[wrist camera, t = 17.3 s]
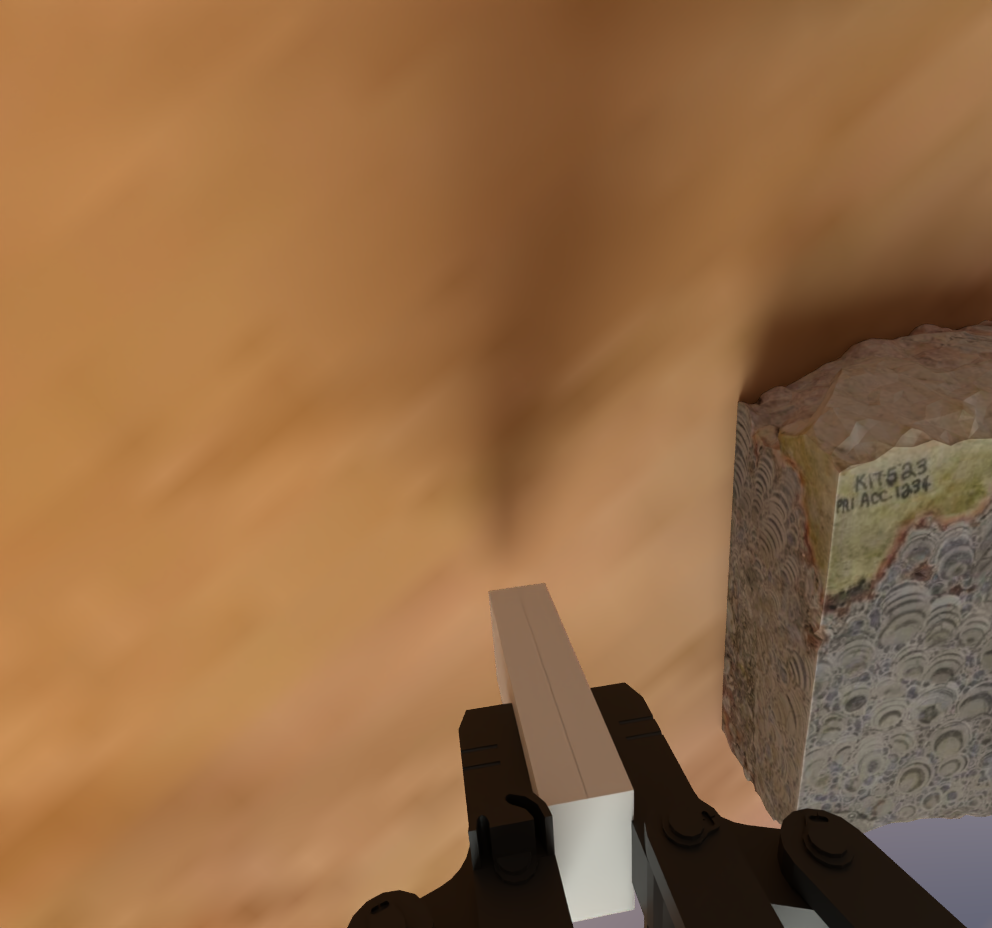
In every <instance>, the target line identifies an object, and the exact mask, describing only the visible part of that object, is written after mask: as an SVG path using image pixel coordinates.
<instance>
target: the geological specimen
mask: <svg viewBox="0 0 992 928" xmlns="http://www.w3.org/2000/svg"><path fill="white" fill-rule="evenodd" d="M722 730H723V732H724V733H725V735H726V737H727V740H728V743H729V746H730V749H731V751H732V752H733V754H734V755H735V756H736V758H737V759H738V760H739V762H740V763H741V765H742V767H743V770H744V775H745V777H746V779H747V781H752V783H753V784H754V787H755V791H756V792H757V793H758V795H759V796H760V797H761V799H762V802H763V804H764V806H765V808H766V810H767V811H768V813H769V814H770V816H771V817H772V819H773V820H777V821H778V822H779V823H780V824H781V825H782V822H783V820H784V819H785V818H786V817H787V816H788V815H789V814H790V813H791V812H793V811H797V810H801V809H805V808H810V809H818V810H825V811H827V812H830V813H832V814H835V815H837V816H840V817H842V818H843V819H845V820H846V821H847V822H849V823H850V824H852V825H853V826H855V827H856V828H857V829H859V830H860V831H861V832H862V833H865V832H868V831H870V830H873V829H876V828H878V827H881V826H884V825H887V824H889V823H894V822H910V821H914V820H917V819H922V818H923V819H924V818H947V819H953V818H958V819H960V818H961V817H963V816H964V815H971V816H975V817H980V816H984V817H986V816H990V815H992V321H987V320H985V321H983V322H981V323H980V324H978V325H973V326H968V327H963V328H961V329H959V330H951V329H949V328H940V327H938V326H936V325H932V324H923V325H921V326H919V327H916V328H915V329H914V330H913V331H912V332H911V333H910V335H909V336H905V337H899V338H896V339H893V340H887V339H873V338H871V339H868V340H866V341H863V342H860V343H858V344H855V345H853V346H851V347H850V348H849V349H848V350H847V351H846V352H845V353H844V354H843V355H842V357H841V358H839V359H837V360H836V361H832V362H829V363H826V364H824V365H822V366H821V367H819V368H818V369H817V370H815V371H813V372H812V373H810V374H808V375H806V376H804V377H803V378H801V379H799V380H797V381H796V382H794V383H792V384H790V385H788V386H787V387H783V386H776V387H774V388H772V389H770V390H768V391H766V392H765V393H763V394H762V395H761V397H760V398H759V400H758V402H757V403H755V404H748V403H745V402H738V410H737V427H736V447H735V463H734V482H733V503H732V520H731V536H730V556H729V576H728V596H727V620H726V639H725V657H724V675H723V702H722Z"/></svg>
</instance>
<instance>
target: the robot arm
mask: <svg viewBox="0 0 992 928" xmlns="http://www.w3.org/2000/svg"><path fill="white" fill-rule="evenodd" d="M489 601H490V611H491V621H492V632H493V642H494V652H495V663H496V673H497V680H498V685H499V689H500V694H501V699H502V703H503V704H501V705H495V706H489V707H483V708H477V709H471V710H466V712H465V715H464V717H463V720H462V722H461V725H460V727H459V739H460V748H461V757H462V766H463V776H464V785H465V794H466V803H467V813H468V822H469V829H468V834H469V842H470V847H469V850H468V854H467V857H466V860H465V861H464V863H463V865H462V867H461V868H460V870H459V871H458V872H457V873H456V874H455V875H454V876H453V878H452V879H451V880H449V881H448V882H446V883H445V884H444V885H442V886H441V887H439V888H438V889H436V890H434V891H432V892H431V893H429V894H427V895H425V896H424V897H422V898H419V897H418V896H417V895H415V894H413V893H409V892H405V891H401V890H398V891H391V892H385V893H382V894H380V895H378V896H376V897H374V898H373V899H371V900H369V901H367V902H366V903H365V904H364V905H363V906H362V907H361V908H360V909H359V910H358V911H357V912H356V914H355V915H354V916H353V917H352V919H351V921H350V923H349V925H348V927H347V928H573V924H572V922H576V921H581V920H586V919H590V918H595V917H600V916H605V915H610V914H615V913H619V912H624V911H628V910H634V889H635V892H636V895H637V898H638V900H639V903H640V906H641V909H642V912H643V914H644V928H967V927H965V926H964V925H963V924H962V923H961V922H960V921H959V920H958V919H957V918H956V917H954V916H953V915H952V914H951V913H950V912H949V911H948V910H947V909H946V908H945V907H943V906H942V905H941V904H940V903H939V902H938V901H937V900H936V899H934V898H933V897H932V896H931V895H930V894H929V893H928V892H927V891H926V890H925V889H924V888H922V887H921V886H920V885H919V884H918V883H917V882H916V881H915V880H914V879H913V878H911V877H910V876H909V875H908V874H907V873H906V872H905V871H904V870H903V869H901V868H900V867H899V866H898V865H897V864H896V863H895V862H894V861H893V860H892V859H890V858H889V857H888V856H887V855H886V854H885V853H884V852H883V851H882V850H881V849H879V848H878V847H877V846H876V845H875V844H874V843H873V842H872V841H871V840H870V839H868V838H867V837H866V836H865V835H864V834H863V833H862V832H861V831H860V830H859V829H857V828H856V827H855V826H853V825H852V824H850V823H849V822H847V821H846V820H845V819H843V818H842V817H840V816H837V815H835V814H832V813H830V812H827V811H825V810H818V809H810V808H805V809H801V810H797V811H793V812H791V813H790V814H789V815H788V816H787V817H786V818H785V819H784V820H783V822H782V826H781V829H775V828H767V827H759V826H750V825H744V824H740V823H735V822H732V821H730V820H727V819H725V818H723V817H721V816H720V815H719V814H718V813H717V812H716V810H715V809H714V808H712V807H711V806H709V805H708V804H706V803H705V802H703V801H702V800H700V799H699V798H698V797H697V795H696V794H695V792H694V791H693V789H692V787H691V785H690V783H689V782H688V780H687V778H686V776H685V774H684V772H683V770H682V769H681V767H680V765H679V763H678V761H677V759H676V758H675V756H674V754H673V752H672V750H671V748H670V746H669V745H668V743H667V741H666V739H665V737H664V735H662V734H661V730H660V728H659V726H658V724H657V723H656V721H655V719H653V715H652V713H651V711H650V710H649V708H648V706H647V704H646V702H645V700H644V699H643V697H642V696H641V695H640V694H638V693H637V692H636V691H635V690H633V689H632V688H631V687H630V686H629V685H627V684H626V683H619V684H613V685H607V686H601V687H594V688H590V687H589V685H588V682H587V680H586V678H585V675H584V673H583V671H582V668H581V666H580V664H579V661H578V659H577V657H576V654H575V652H574V650H573V647H572V645H571V643H570V640H569V638H568V636H567V633H566V631H565V629H564V626H563V624H562V622H561V619H560V617H559V615H558V612H557V610H556V608H555V605H554V603H553V601H552V598H551V596H550V594H549V591H548V589H547V587H546V584H545V583H541V584H534V585H527V586H520V587H513V588H506V589H499V590H492V591H489Z"/></svg>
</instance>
